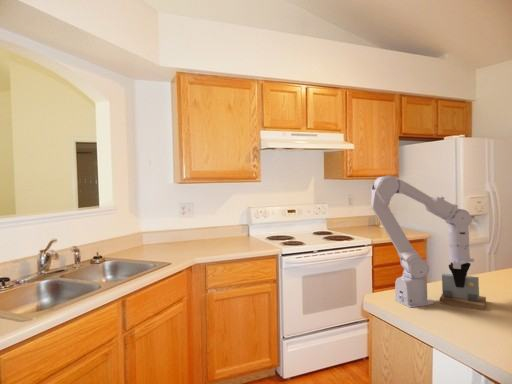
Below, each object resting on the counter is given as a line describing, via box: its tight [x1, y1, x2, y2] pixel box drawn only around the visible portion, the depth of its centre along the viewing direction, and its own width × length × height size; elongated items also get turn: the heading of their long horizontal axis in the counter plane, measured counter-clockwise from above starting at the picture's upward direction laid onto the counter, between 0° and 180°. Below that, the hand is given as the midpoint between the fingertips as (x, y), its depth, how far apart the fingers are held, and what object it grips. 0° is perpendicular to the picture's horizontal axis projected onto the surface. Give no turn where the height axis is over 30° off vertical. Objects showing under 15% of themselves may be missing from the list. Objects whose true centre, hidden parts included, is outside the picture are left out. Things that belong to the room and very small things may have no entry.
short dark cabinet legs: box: [442, 291, 477, 302], centre depth 104 cm, size 5×9×2 cm, turn 52°
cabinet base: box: [439, 292, 487, 311], centre depth 104 cm, size 9×12×2 cm
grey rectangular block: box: [441, 273, 480, 301], centre depth 104 cm, size 3×10×7 cm, turn 51°
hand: (460, 285), depth 104 cm, fingers closed on grey rectangular block, 2 cm apart
